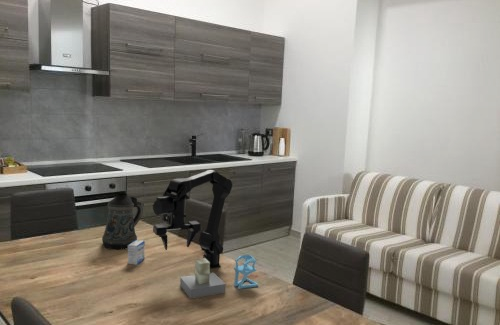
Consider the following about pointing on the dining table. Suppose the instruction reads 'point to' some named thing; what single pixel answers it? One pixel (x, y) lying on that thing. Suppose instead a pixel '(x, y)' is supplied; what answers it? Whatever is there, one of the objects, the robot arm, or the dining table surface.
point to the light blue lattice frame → (245, 271)
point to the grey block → (202, 286)
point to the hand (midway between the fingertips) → (177, 248)
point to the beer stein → (121, 222)
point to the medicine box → (136, 252)
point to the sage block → (202, 270)
